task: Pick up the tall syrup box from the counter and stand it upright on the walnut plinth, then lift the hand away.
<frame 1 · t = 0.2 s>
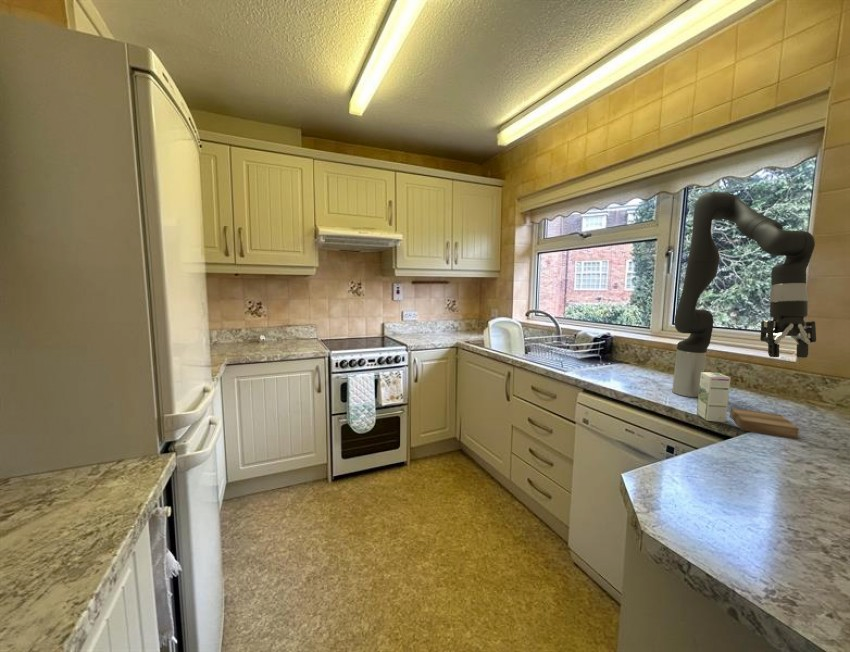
hand: (788, 357, 101), 22 cm above the worktop, tool pointing down, fingers open, 8 cm apart
syrup box: (710, 419, 114), on the worktop
walnut plinth: (760, 427, 107), on the worktop
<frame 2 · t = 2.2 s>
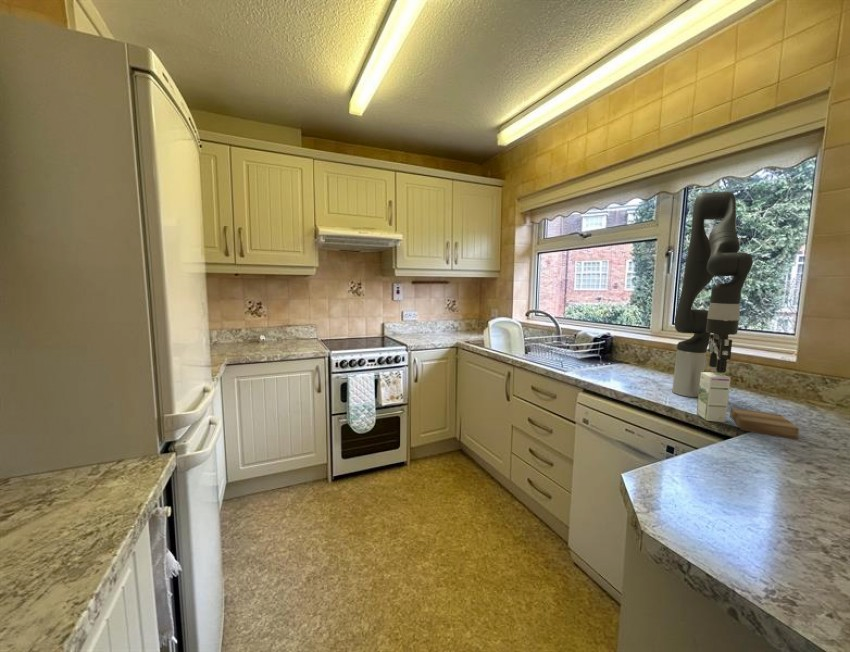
hand: (716, 369, 111), 16 cm above the worktop, tool pointing down, fingers open, 8 cm apart
nothing on the worktop moved.
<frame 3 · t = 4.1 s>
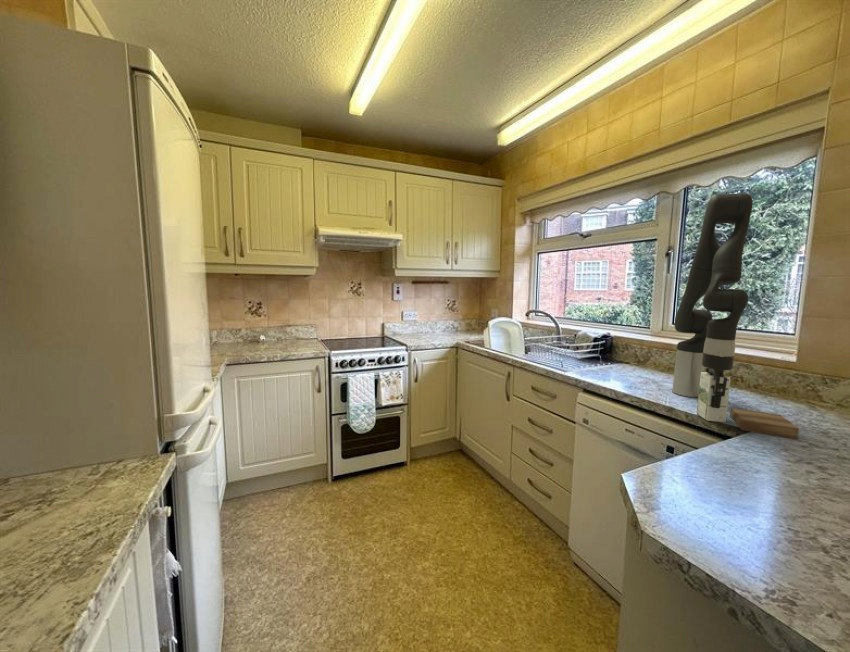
hand: (712, 404, 113), 5 cm above the worktop, tool pointing down, fingers closed on syrup box, 6 cm apart
syrup box: (710, 418, 114), on the worktop, touching gripper
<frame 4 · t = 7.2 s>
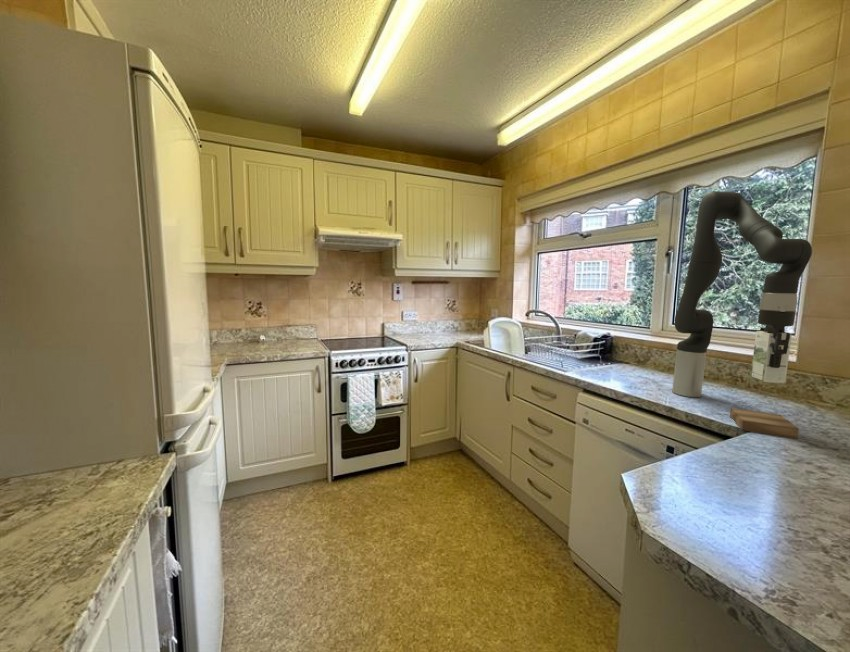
hand: (769, 364, 105), 19 cm above the worktop, tool pointing down, fingers closed on syrup box, 6 cm apart
syrup box: (767, 381, 106), point 14 cm above the worktop, touching gripper
when the fingers open (9 cm above the worktop, at t = 10.4 s): syrup box drops 1 cm, resting on walnut plinth.
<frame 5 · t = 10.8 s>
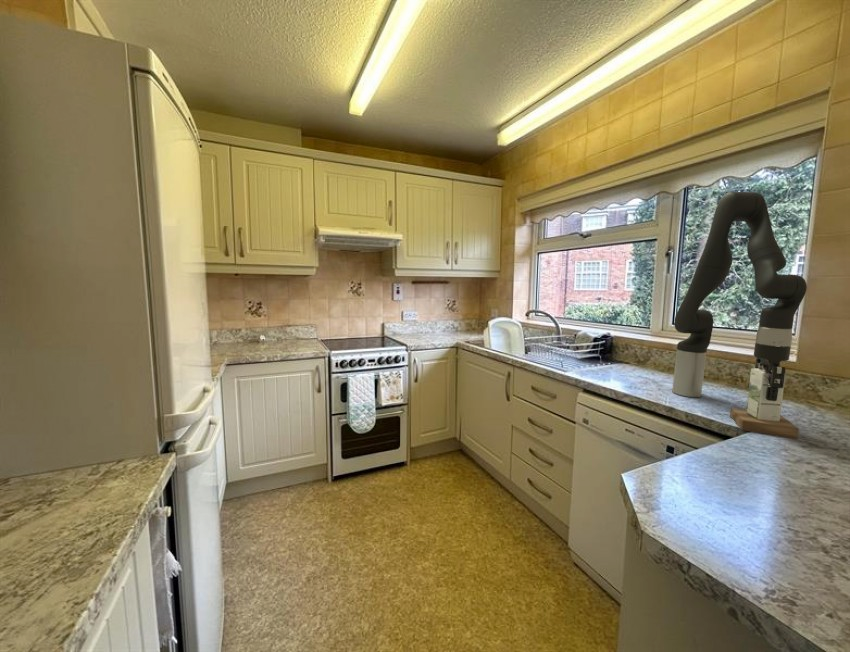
hand: (765, 396, 106), 10 cm above the worktop, tool pointing down, fingers open, 8 cm apart
syrup box: (761, 418, 107), point 3 cm above the worktop, touching walnut plinth
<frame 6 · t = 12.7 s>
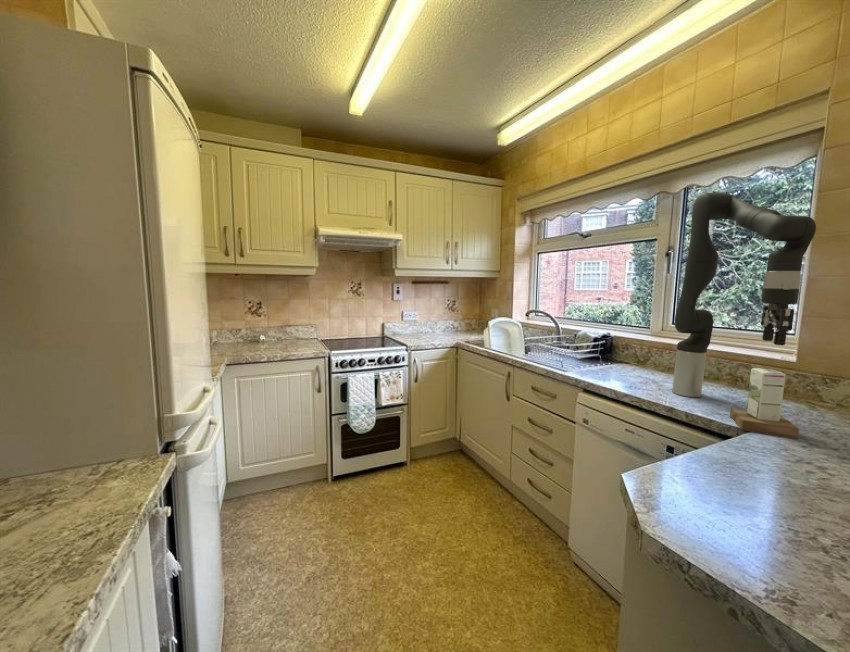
hand: (772, 342, 104), 26 cm above the worktop, tool pointing down, fingers open, 8 cm apart
nothing on the worktop moved.
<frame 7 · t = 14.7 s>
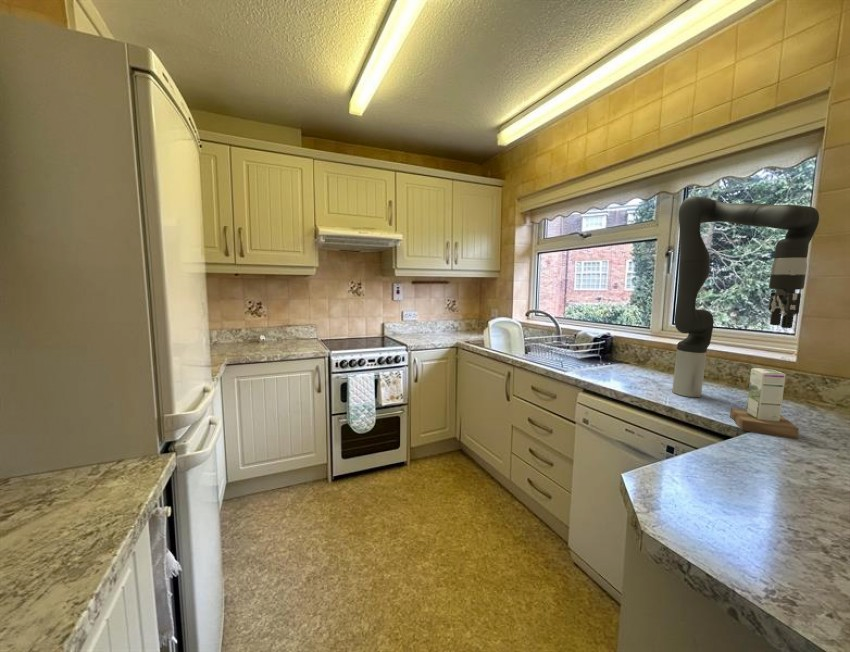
hand: (780, 326, 110), 30 cm above the worktop, tool pointing down, fingers open, 8 cm apart
nothing on the worktop moved.
at the end: syrup box inside the target area on the walnut plinth (0.1 cm from its centre), point 2.8 cm above the walnut plinth's base; syrup box tilted 0°; the gripper is holding nothing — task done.
